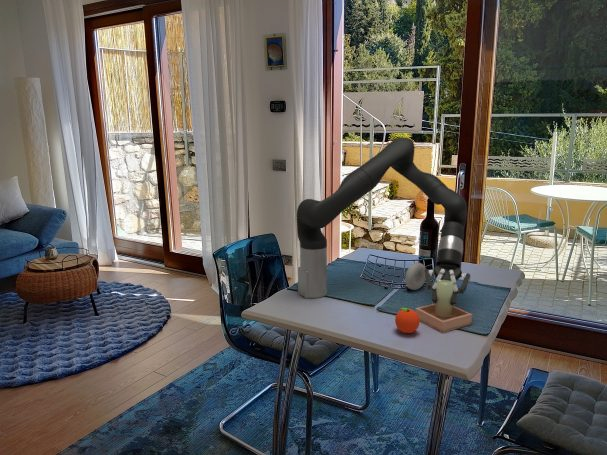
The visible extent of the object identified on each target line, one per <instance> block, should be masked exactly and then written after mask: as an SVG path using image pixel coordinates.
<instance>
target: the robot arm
mask: <svg viewBox="0 0 607 455" xmlns="http://www.w3.org/2000/svg"><path fill="white" fill-rule="evenodd" d="M414 155H415V143H414V141H413V140H412V139H411V138H410V137H406V136H405V137H404V136H403V137H398V138H395V139H393V140H392V141H390V143H388V144H387V145H386V146H384V147H383V149H381V151H379V152H378V153H377V154H375V155H374V156H373V157H371V158H370V159H369V160H367V161H366V162H364V164H362V165H361V166H359V167H357V168H356V169H354V170H352V172H350V173H349V174H346V176H345V177H343V179H342V181H341V182H340V185H339V186H338V188H337V190H336V191H334V193H332V194H331V195H329V196H328V197H326V198H324V199H322V200H317V199H312V198H306V199H304V200H302V201H301V202H300V203H299V204H298V206H297V209H296V231H297V239H298V242H299V266H298V267H297V293H298V294H299V295H301V296H302V297H304V298H305V299H318V298H324V297H325V296H326V295H327V291H328V290H327V289H328V287H327V284H328V283H327V282H328V281H327V280H328V277H327V274H328V270H327V269H328V268H327V267H328V266H327V265H328V262H327V261H328V258H327V257H328V253H327V252H328V242H327V241H328V240H327V237H326V236H325V235H324V233H323V231H322V229H324V228H325V227H327V226H328V225H330V224H331V223H332V222H333V221H335V219H336V218H337V217H338V216H340V214H341V213H342V212H344V211H345V210H346V209H348V208H349V207H350V206H352V205H353V204H354V203H356V202H357V201H358V200H360V199H361V198H362V197H365V195H367V194H369V193H370V192H371V191H372V190H374V189H375V188H376V187H377V185H378V184H379V183H380V182H381V180H382V179H383V178H384V176H385V174H386V173H387V171H388V170H389V169H390V168H392V169H393V170H394V171H395V172H396V173H398V174H400V176H402V177H403V178H405V179H406V180H407V181H409V182H410V183H412V184H413V185H415V186H416V187H417V188H418V189H419V190H420V191H421V192H422V193H423V194H424V195H425V196H426V197H427V198H428V199H429V200H430V201H431V202H432V203H433V204H435V205H441V206H442V207H443V210H444V220H443V221H444V223H443V225H442V227H441V232H440V239H439V243H438V245H437V246H438V247H437V250H436V251H437V254H436V259H435V265H434V267H433V269H428V268H426V269H425V270H424V271H425V278H426V279H425V283H426V289H427V290H429V291H431V296H430V298H431V302H433V303H432V304H435V303H436V295H437V291H436V290H437V281H438V280H449V281H452V282H454V288H453V294H452V301H451V306H455V305H457V302H458V295H459V294H462V295H463V294H465V292H466V290H467V287H468V286H469V283H470V280H471V274H470V273H468V272H467V273H464V272H463V271H462V263H463V262H462V261H463V254H464V237H465V227H466V223H467V216H468V214H467V213H468V205H467V201H466V200H465V198H464V197H463V196H462V195H461V194H460V193H458V192H457V191H455V190H453V189H452V188H449V187H448V186H447V185H446V184H445V183H444V182H443V181H442V180H441V179H440V178H439V177H437V176H436V175H435V174H432V173H429V172H424V171H422V170H421V169H419V168H418V167H417V165H416V164H415V163H414V158H415V156H414ZM433 275H434V276H435V280H434V283H433V284H432V283H431V278H432V276H433ZM460 278H461V280H462V283H461V284H460V287H458V285H457V281H458V280H459V279H460Z"/></svg>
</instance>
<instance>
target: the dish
mask: <svg viewBox="0 0 607 455" xmlns="http://www.w3.org/2000/svg"><path fill="white" fill-rule="evenodd" d="M435 306H436V303H432V304H428V305H424V306H423V305H422V306H419V307H415V310H414V311H415V312H416V313H417V314H418V316H419V319H420V323H423V324H425V325H427V326H429V327H430V328H432V329H434V330H436V331H437V332H440V333H441V334H444V333H446V332H447V333H448V332H451V331H454V330H457V329H461V328H465V327H468V326H471V325H472V322H473V314H472V313H470V312H468V311H466V310H463V309H462V308H460V307H457V306H455V305H454V306H452V315H451V316H450V317H440V316H437V315H436V314H435Z"/></svg>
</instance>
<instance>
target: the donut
mask: <svg viewBox="0 0 607 455" xmlns="http://www.w3.org/2000/svg"><path fill="white" fill-rule="evenodd" d="M425 269H427V268H426V266H425V265H424V264H423V263H421V262H414V263H413V264H411V265H410V266H408V268H407V271H406V273H405V277H404V278H405V279H404V280H405V285H406V286H407V287H408V289H410V290H411V291H417V290H419V289H420V288H421V287H423V285H424V284H425V283H426V278H425V271H424V270H425Z"/></svg>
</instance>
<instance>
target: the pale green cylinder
mask: <svg viewBox="0 0 607 455" xmlns="http://www.w3.org/2000/svg"><path fill="white" fill-rule="evenodd" d="M453 288H454V282H452V281H449V280H438V281H437V290H436V291H437V295H436V306H435V314H436V315H437V316H440V317H450V316H451V315H452V306H451V301H452V294H453Z"/></svg>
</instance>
